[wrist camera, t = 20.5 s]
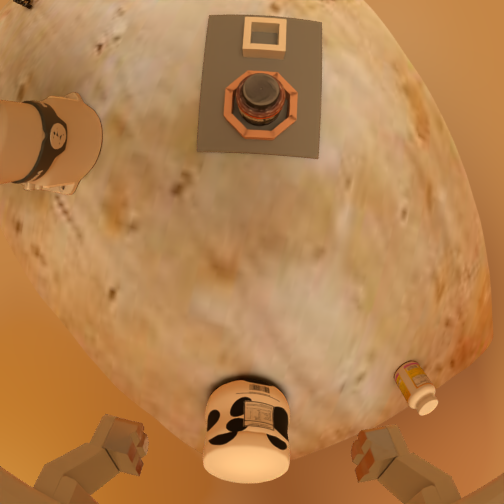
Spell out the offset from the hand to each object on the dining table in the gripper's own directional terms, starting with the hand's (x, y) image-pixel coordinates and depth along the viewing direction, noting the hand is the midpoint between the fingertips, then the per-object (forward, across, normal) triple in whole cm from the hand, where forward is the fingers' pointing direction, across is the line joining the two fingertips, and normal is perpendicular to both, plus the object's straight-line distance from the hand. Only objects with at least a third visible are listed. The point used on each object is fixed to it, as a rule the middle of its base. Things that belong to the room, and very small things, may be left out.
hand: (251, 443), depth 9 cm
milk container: (+37, -1, +38) cm, 53 cm away
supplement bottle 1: (+36, 0, -18) cm, 40 cm away
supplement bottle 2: (+37, -37, +31) cm, 61 cm away
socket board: (+37, 0, -23) cm, 44 cm away
